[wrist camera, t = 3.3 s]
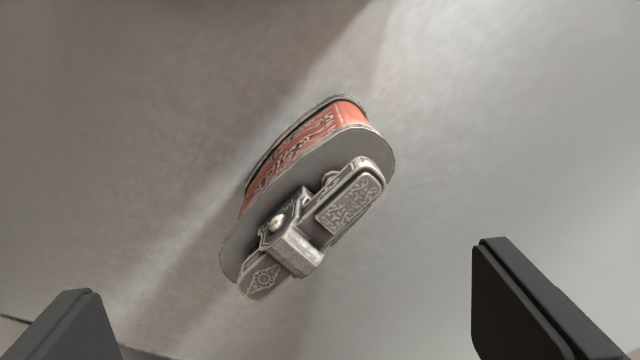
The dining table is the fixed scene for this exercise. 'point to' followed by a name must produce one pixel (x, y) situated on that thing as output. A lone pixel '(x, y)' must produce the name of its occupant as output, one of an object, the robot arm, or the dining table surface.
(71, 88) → the dining table surface
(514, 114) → the dining table surface
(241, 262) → the lighter
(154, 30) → the dining table surface
